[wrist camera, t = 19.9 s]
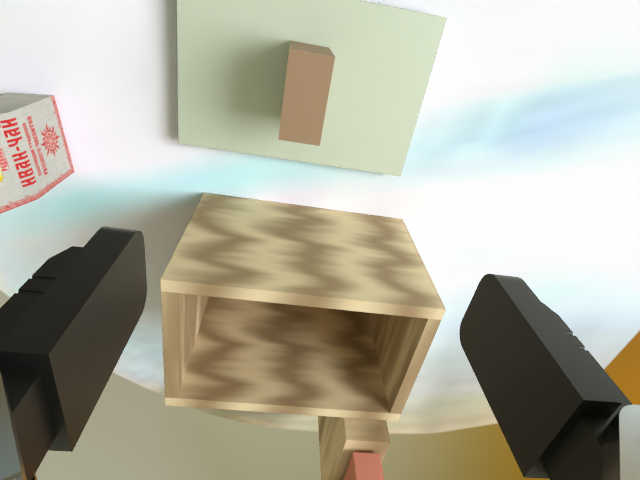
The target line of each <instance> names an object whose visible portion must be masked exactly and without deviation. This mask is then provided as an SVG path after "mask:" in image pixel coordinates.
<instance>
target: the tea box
mask: <svg viewBox="0 0 640 480" xmlns="http://www.w3.org/2000/svg"><path fill="white" fill-rule="evenodd" d="M73 172H74V169H73V166H72V162H71V158H70V154H69V151H68V147H67V143H66V139H65V136H64V132H63V128H62V125H61V121H60V117H59V113H58V110H57V106H56V102H55V98H54V95H37V94H19V93H5V94H2V95H0V213H3V212H5V211H8V210H10V209H13V208H15V207H18V206H21V205H23V204H26V203H28V202H31V201H34V200H36V199H38V198H40V197H41V196H42V195H44V194H45V193H46V192H48V191H49V190H50V189H52V188H53V187H54V186H56V185H57V184H58V183H60V182H61V181H62V180H64V179H65V178H66V177H68V176H69V175H70V174H72V173H73Z"/></svg>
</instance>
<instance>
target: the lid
mask: <svg viewBox="0 0 640 480" xmlns="http://www.w3.org/2000/svg"><path fill="white" fill-rule="evenodd" d="M446 19H447V18H445V17H440V16H435V15H430V14H425V13H420V12H415V11H410V10H406V9H401V8H396V7H391V6H386V5H381V4H376V3H371V2H366V1H361V0H177V61H178V143H179V144H185V145H192V146H199V147H206V148H212V149H219V150H226V151H233V152H239V153H246V154H253V155H260V156H266V157H273V158H280V159H287V160H293V161H300V162H307V163H314V164H320V165H327V166H334V167H341V168H348V169H354V170H361V171H368V172H375V173H381V174H388V175H395V176H401V173H402V170H403V166H404V163H405V160H406V156H407V153H408V149H409V146H410V142H411V139H412V136H413V132H414V129H415V125H416V122H417V118H418V115H419V111H420V108H421V105H422V101H423V98H424V94H425V91H426V87H427V84H428V81H429V77H430V74H431V70H432V67H433V63H434V60H435V57H436V53H437V50H438V46H439V43H440V39H441V36H442V33H443V29H444V26H445V22H446Z"/></svg>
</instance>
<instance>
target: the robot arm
mask: <svg viewBox="0 0 640 480" xmlns="http://www.w3.org/2000/svg"><path fill="white" fill-rule="evenodd" d="M146 294H147V283H146V266H145V250H144V238H143V234H142V232H141V231H136V230H128V229H119V228H111V227H102V228H100V229H99V230H98V231H97V233H96V234H95V235H94V236H93V237H92V238H91V239H90V241H89V242H88V243H87V244H86V245H85V246H84V247H74V246H72V247H70V248H69V249H67V250H65V251H63V252H61V253H59V254H57V255H55V256H53V257H51V258H49V259H48V260H47V261H46V262H45V263H44V264H43V265H42V266H41V267H40V268H39V269H38V270H37V271H36V272H35V273H34V274H33V275H32V279H28V280H27V281H26V283H25V284H24V285H23V286H22V287H21V288H20V289H19V292H18V294H16V293H15V294H14V295H13V296H12V297H11V298H10V299H9V300H8V301H7V302H6V303H5V304H4V305H3V306H2V307H1V308H0V480H37V477H36V474H35V473H36V471H37V469H38V467H39V465H40V463H41V462H42V460H43V458H44V456H45V455H46V453H47V451H48V450H54V451H73V449H74V447H75V445H76V443H77V441H78V439H79V437H80V435H81V433H82V431H83V429H84V427H85V425H86V423H87V421H88V419H89V417H90V415H91V413H92V411H93V409H94V407H95V405H96V403H97V401H98V399H99V397H100V395H101V394H102V392H103V389H104V388H105V386H106V383H107V382H108V380H109V378H110V376H111V374H112V372H113V370H114V368H115V366H116V364H117V362H118V360H119V358H120V356H121V354H122V352H123V350H124V348H125V346H126V344H127V342H128V340H129V338H130V336H131V334H132V332H133V330H134V328H135V326H136V324H137V322H138V320H139V318H140V316H141V314H142V312H143V309H144V305H145V301H146ZM572 333H573V332H572V331H571V330H570V329H569V327H568V326H567V325H566V324H565V323H564V321H563V320H562V319H561V318H560V317H559V315H557V314H556V313H555V312H553V311H552V310H551V309H550V308H548V307H547V306H546V305H544V304H543V303H542V302H541V301H540V300H539V299H538V298H537V297H536V295H535V294H534V293H533V292H532V290H531V289H530V288H529V287H528V286H527V284H526V283H525V282H524V281H523V280H522V279H521V278H518V277H511V276H503V275H494V274H487V275H485V276H484V277H483V278H482V279H481V281H480V283H479V285H478V287H477V289H476V291H475V294H474V296H473V298H472V300H471V302H470V304H469V306H468V309H467V311H466V313H465V315H464V317H463V319H462V322H461V326H460V341H461V345H462V348H463V350H464V352H465V354H466V356H467V358H468V360H469V362H470V365H471V367H472V369H473V371H474V373H475V375H476V377H477V379H478V381H479V384H480V386H481V388H482V390H483V392H484V394H485V396H486V398H487V400H488V403H489V405H490V407H491V409H492V411H493V413H494V415H495V417H496V419H497V422H498V424H499V426H500V428H501V430H502V432H503V434H504V436H505V438H506V441H507V443H508V445H509V447H510V449H511V451H512V453H513V455H514V457H515V460H516V462H517V464H518V466H519V468H520V470H521V472H522V474H523V476H524V477H530V478H549V479H550V480H640V405H632V403H631V402H630V401H629V400H628V398H627V397H626V396H625V395H624V394H623V392H622V391H621V390H620V389H619V388H618V387H617V385H616V384H615V383H614V382H613V381H612V379H611V378H610V377H609V376H608V374H607V373H606V372H605V371H604V370H603V368H602V367H601V366H600V365H599V364H598V362H597V361H596V360H595V359H594V357H593V356H592V355H591V354H590V353H589V351H586V350H584V345H583V344H582V343H581V342H580V341H579V339H578V338H577V337H576V336H573V335H572Z"/></svg>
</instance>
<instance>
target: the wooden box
mask: <svg viewBox="0 0 640 480" xmlns="http://www.w3.org/2000/svg"><path fill="white" fill-rule="evenodd" d="M160 281H161V306H162V332H163V357H164V382H165V405H168V406H182V407H197V408H212V409H226V410H241V411H256V412H270V413H285V414H300V415H314V416H318V423H319V445H320V465H321V466H320V467H321V480H343V479H344V476H345V473H346V471H347V468H348V465H349V462H350V460H351V457H352V454H353V452H359V453H376V454H380V459H381V464H382V461H383V459H384V457H385V454H386V452H387V450H388V447H389V445H390V438H389V433H388V428H387V423H386V420H388V421H398V420H399V417H400V415H401V413H402V410H403V408H404V406H405V403H406V401H407V399H408V396H409V394H410V392H411V389H412V387H413V385H414V382H415V380H416V378H417V375H418V373H419V371H420V369H421V366H422V364H423V362H424V359H425V357H426V355H427V352H428V350H429V348H430V345H431V343H432V341H433V338H434V336H435V334H436V331H437V329H438V327H439V324H440V322H441V320H442V317H443V315H444V313H445V310H446V309H445V307H444V305H443V303H442V301H441V299H440V297H439V295H438V293H437V290H436V288H435V286H434V284H433V282H432V280H431V278H430V276H429V274H428V272H427V269H426V267H425V265H424V263H423V261H422V259H421V257H420V255H419V253H418V251H417V249H416V246H415V244H414V242H413V240H412V238H411V236H410V234H409V232H408V230H407V228H406V225H405V223H404V221H403V219H396V218H388V217H381V216H374V215H366V214H359V213H351V212H344V211H336V210H329V209H322V208H314V207H307V206H299V205H292V204H284V203H277V202H270V201H262V200H255V199H247V198H240V197H232V196H225V195H218V194H210V193H204V194H203V195H202V197H201V199H200V201H199V203H198V205H197V207H196V209H195V211H194V213H193V215H192V217H191V219H190V221H189V223H188V225H187V227H186V229H185V231H184V233H183V235H182V237H181V239H180V241H179V243H178V245H177V247H176V249H175V251H174V253H173V255H172V257H171V259H170V261H169V263H168V265H167V267H166V269H165V271H164V273H163V275H162V277H161V279H160Z"/></svg>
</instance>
